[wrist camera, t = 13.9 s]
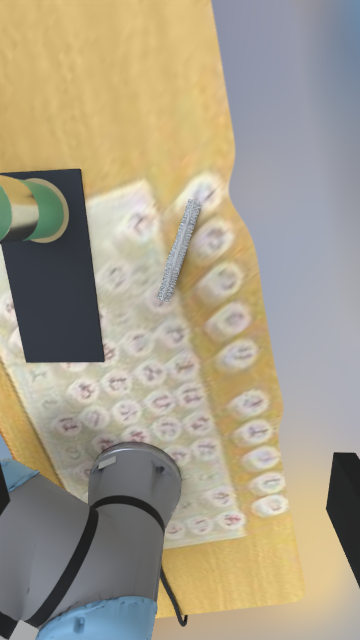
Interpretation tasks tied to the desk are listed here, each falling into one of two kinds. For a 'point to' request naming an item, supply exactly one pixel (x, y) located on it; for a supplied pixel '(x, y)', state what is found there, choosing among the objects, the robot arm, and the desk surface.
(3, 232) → the can
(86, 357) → the mat
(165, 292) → the garden wall model
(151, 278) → the desk surface
